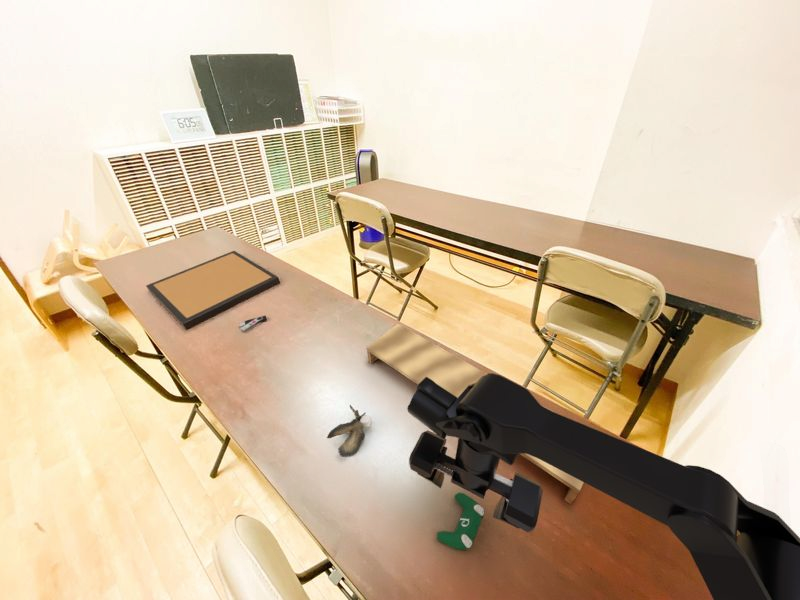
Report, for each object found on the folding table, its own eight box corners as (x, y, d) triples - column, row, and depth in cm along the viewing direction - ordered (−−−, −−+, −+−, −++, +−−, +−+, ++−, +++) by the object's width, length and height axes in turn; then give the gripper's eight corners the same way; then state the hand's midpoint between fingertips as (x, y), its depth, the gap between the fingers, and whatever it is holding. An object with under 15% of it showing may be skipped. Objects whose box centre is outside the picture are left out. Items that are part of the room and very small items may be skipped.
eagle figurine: (342, 411, 78) (320, 440, 71) (356, 398, 74) (334, 426, 67) (365, 433, 78) (346, 463, 70) (380, 421, 74) (361, 452, 66)
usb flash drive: (266, 316, 110) (265, 314, 109) (268, 325, 106) (267, 323, 105) (239, 324, 107) (238, 322, 106) (240, 334, 103) (239, 331, 102)
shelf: (591, 454, 69) (601, 439, 66) (570, 504, 62) (580, 490, 58) (398, 338, 100) (398, 323, 96) (368, 362, 92) (366, 347, 88)
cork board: (236, 256, 145) (149, 291, 124) (234, 250, 144) (145, 285, 123) (280, 283, 127) (186, 330, 106) (278, 277, 125) (182, 323, 104)
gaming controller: (445, 551, 58) (470, 560, 53) (433, 536, 57) (457, 544, 53) (466, 503, 64) (490, 508, 59) (455, 489, 63) (478, 493, 59)
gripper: (560, 431, 45) (535, 481, 55) (438, 382, 53) (434, 434, 62) (547, 509, 38) (521, 552, 47) (406, 439, 45) (407, 488, 54)
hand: (466, 499), depth 53 cm, fingers open, 9 cm apart
